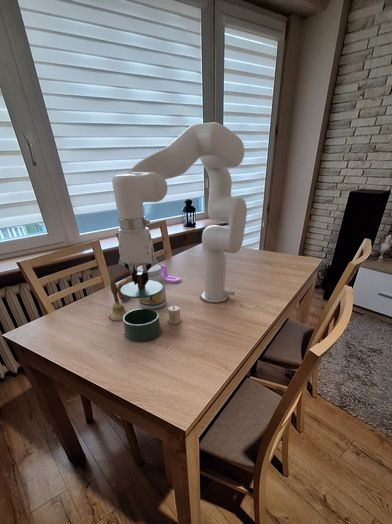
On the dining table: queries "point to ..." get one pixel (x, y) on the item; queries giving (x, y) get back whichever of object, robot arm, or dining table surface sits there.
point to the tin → (121, 284)
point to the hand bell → (117, 304)
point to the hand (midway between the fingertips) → (141, 282)
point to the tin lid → (141, 288)
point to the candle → (174, 314)
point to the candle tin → (141, 325)
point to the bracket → (169, 278)
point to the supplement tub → (159, 298)
